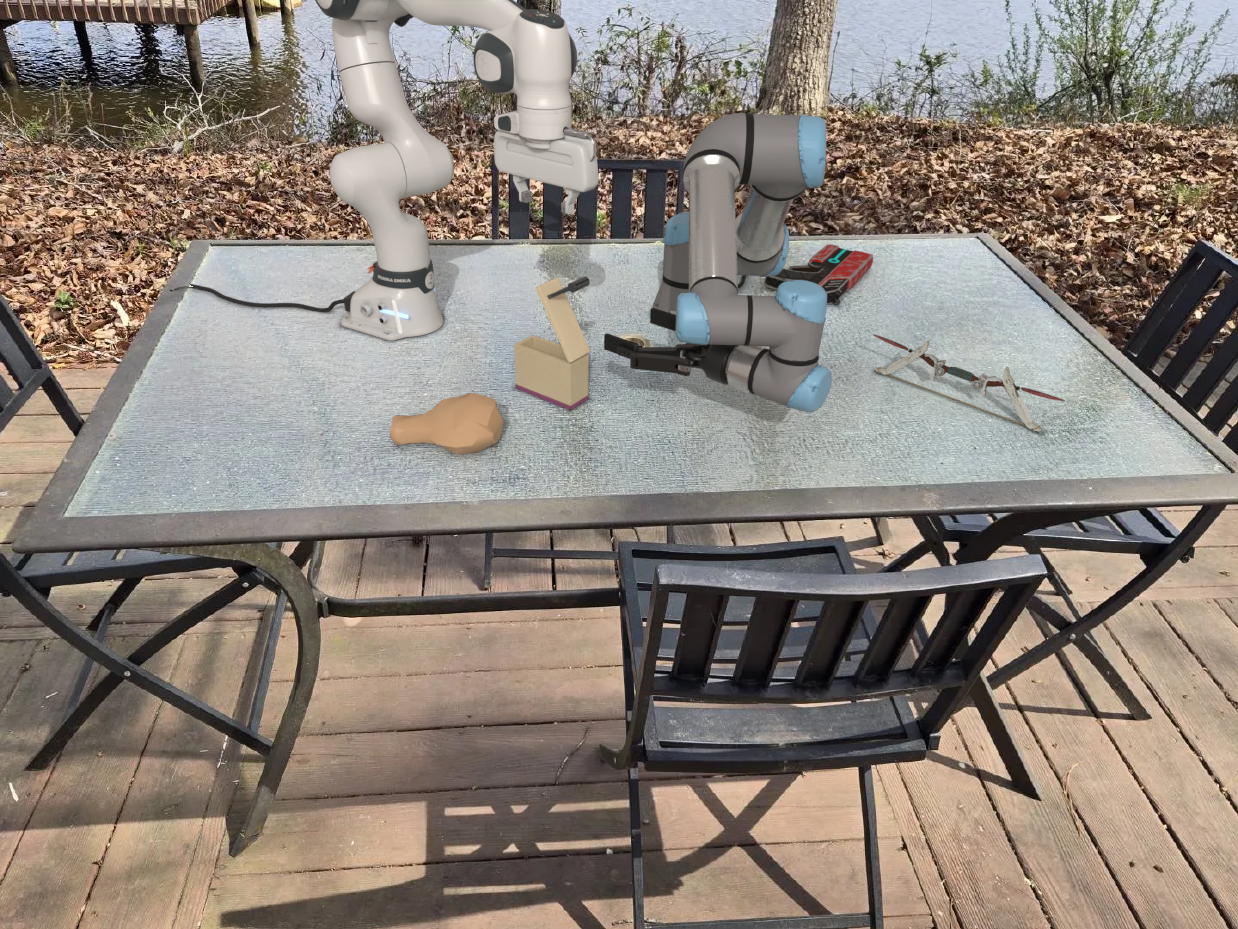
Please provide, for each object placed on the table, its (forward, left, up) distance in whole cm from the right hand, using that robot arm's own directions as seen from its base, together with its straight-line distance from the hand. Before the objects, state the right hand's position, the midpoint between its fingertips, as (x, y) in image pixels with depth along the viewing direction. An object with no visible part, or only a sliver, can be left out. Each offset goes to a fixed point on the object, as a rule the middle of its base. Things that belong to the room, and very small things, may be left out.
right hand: (628, 327), depth 152 cm
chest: (0, -18, -19) cm, 26 cm away
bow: (-47, +46, -19) cm, 68 cm away
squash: (+26, -20, -19) cm, 38 cm away
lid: (0, -15, -3) cm, 15 cm away
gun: (-88, -2, -19) cm, 90 cm away
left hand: (0, -18, +17) cm, 25 cm away
